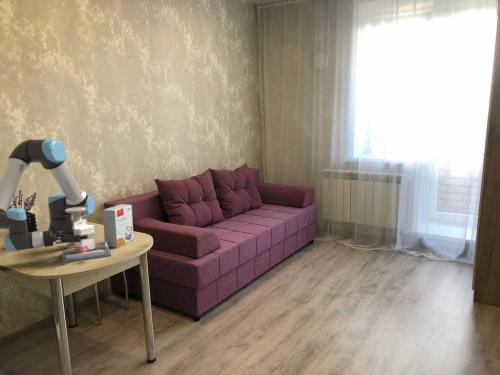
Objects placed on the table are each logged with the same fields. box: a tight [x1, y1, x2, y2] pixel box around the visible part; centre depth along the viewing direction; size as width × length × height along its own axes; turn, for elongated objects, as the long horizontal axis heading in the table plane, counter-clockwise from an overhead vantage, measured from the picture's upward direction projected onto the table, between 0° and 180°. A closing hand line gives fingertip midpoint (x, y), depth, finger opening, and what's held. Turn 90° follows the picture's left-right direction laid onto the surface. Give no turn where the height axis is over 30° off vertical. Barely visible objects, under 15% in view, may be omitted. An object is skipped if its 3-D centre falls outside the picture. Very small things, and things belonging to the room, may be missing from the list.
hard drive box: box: [102, 203, 134, 249], centre depth 213 cm, size 16×8×20 cm, turn 162°
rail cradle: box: [61, 240, 112, 264], centre depth 197 cm, size 14×22×4 cm, turn 113°
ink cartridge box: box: [74, 218, 96, 253], centre depth 196 cm, size 9×5×15 cm, turn 157°
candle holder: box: [65, 207, 87, 249], centre depth 210 cm, size 12×12×20 cm
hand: (94, 232), depth 197 cm, fingers closed on ink cartridge box, 9 cm apart
